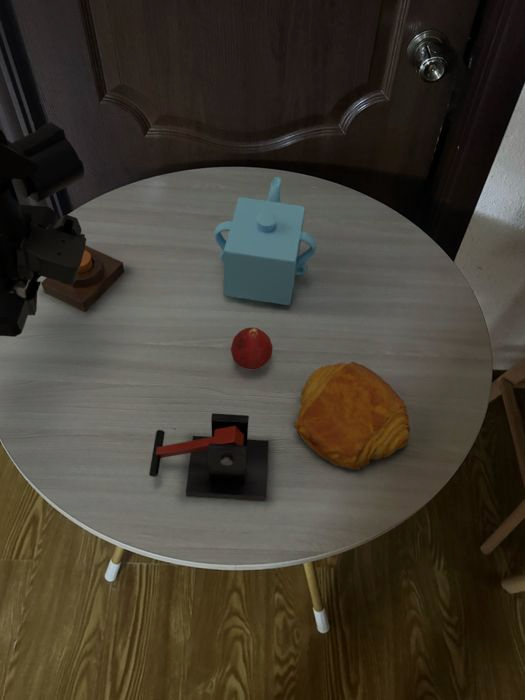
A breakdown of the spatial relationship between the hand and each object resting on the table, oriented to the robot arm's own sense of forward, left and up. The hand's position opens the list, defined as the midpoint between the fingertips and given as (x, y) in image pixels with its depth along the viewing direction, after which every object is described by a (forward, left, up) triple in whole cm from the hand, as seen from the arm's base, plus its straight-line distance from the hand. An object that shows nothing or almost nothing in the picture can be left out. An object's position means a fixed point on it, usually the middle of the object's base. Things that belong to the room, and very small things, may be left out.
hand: (31, 313), depth 78 cm
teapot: (+34, +15, -12) cm, 39 cm away
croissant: (+39, -16, -12) cm, 44 cm away
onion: (+28, -4, -12) cm, 31 cm away
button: (+5, +16, -8) cm, 19 cm away
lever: (+19, -19, -7) cm, 28 cm away
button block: (+5, +16, -12) cm, 21 cm away
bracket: (+22, -20, -12) cm, 32 cm away
